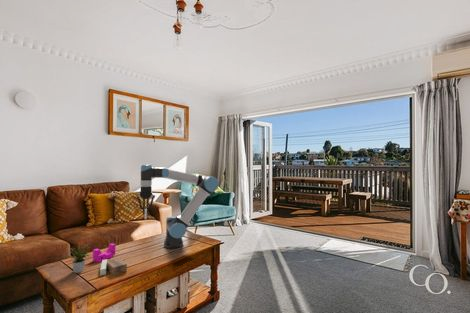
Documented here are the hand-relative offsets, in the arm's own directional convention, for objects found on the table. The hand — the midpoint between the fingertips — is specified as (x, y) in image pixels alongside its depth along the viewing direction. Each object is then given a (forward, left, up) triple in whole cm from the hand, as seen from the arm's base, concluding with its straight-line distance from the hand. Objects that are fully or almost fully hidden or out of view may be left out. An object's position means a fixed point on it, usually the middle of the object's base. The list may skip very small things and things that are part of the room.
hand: (145, 218), depth 183 cm
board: (+25, +16, -27) cm, 40 cm away
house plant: (+40, +14, -27) cm, 50 cm away
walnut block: (+17, +20, -27) cm, 38 cm away
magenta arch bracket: (+26, -5, -27) cm, 38 cm away
